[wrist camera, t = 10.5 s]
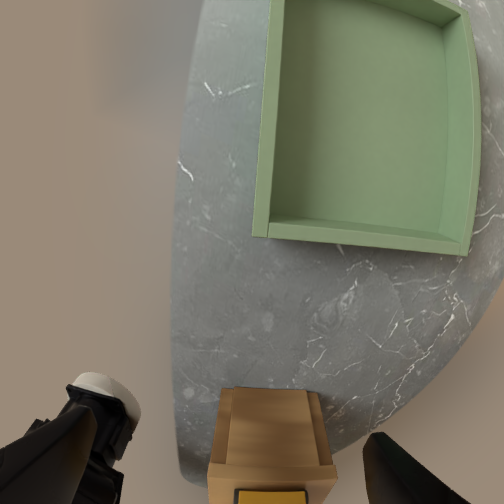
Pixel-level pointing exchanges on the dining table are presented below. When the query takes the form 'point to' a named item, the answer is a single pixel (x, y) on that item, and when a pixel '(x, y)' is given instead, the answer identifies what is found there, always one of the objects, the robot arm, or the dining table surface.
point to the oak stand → (269, 445)
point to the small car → (270, 497)
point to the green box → (369, 125)
